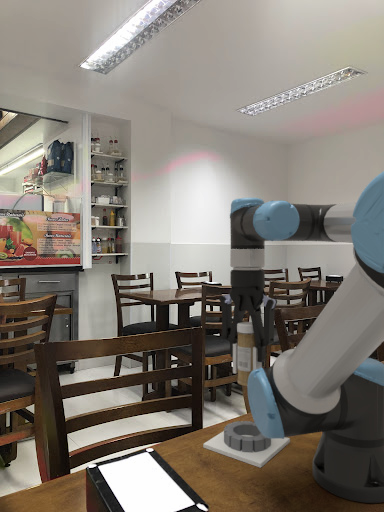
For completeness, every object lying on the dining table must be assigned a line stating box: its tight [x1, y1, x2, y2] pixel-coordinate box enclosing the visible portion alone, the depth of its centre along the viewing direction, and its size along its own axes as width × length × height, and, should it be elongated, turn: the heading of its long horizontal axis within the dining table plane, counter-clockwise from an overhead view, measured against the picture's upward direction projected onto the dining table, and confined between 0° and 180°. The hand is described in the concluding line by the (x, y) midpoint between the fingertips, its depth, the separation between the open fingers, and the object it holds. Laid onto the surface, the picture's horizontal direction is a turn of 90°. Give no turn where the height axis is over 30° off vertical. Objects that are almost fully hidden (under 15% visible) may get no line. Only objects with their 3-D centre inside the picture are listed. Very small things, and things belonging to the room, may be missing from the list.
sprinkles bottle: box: [236, 321, 256, 387], centre depth 91 cm, size 5×5×14 cm
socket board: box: [202, 420, 291, 469], centre depth 91 cm, size 14×14×3 cm
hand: (247, 373), depth 91 cm, fingers closed on sprinkles bottle, 4 cm apart
